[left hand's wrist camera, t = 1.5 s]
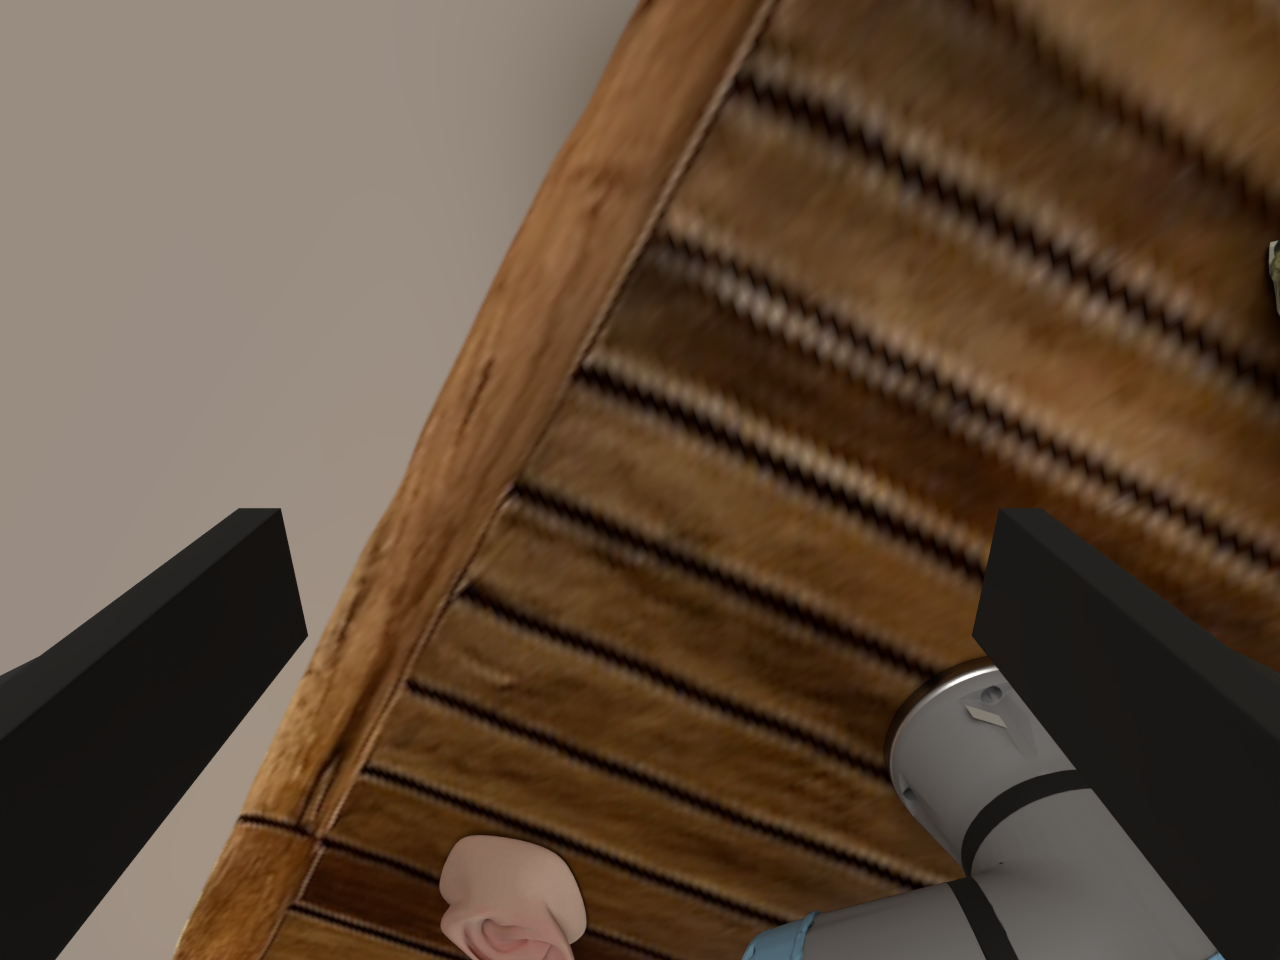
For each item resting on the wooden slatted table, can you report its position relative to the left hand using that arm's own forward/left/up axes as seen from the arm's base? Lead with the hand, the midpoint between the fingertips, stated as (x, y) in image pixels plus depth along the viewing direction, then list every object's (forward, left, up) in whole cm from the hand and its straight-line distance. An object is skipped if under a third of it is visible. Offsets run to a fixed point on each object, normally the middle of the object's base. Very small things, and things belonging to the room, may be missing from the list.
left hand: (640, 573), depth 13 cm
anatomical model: (-9, +45, -28) cm, 54 cm away
